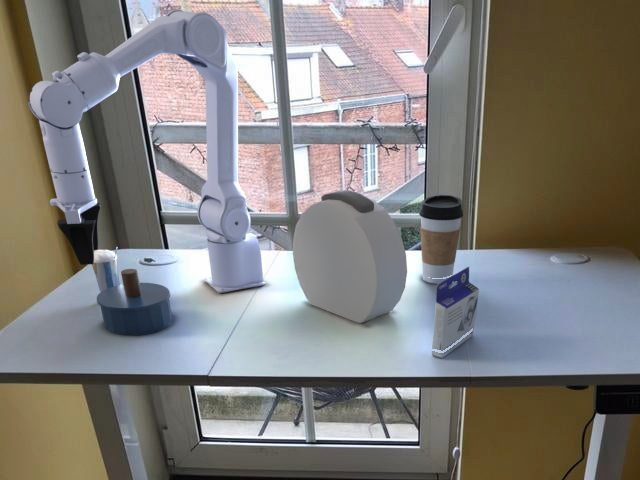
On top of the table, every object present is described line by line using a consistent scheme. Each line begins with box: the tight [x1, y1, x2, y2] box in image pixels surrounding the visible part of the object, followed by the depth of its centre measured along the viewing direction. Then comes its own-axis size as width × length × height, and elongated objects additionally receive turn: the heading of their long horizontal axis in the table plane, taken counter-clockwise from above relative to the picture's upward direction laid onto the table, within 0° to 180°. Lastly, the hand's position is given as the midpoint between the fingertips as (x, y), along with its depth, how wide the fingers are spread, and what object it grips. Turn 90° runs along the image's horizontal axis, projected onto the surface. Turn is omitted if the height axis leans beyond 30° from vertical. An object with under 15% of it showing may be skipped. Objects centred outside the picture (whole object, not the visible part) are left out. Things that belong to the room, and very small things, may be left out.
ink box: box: [430, 266, 480, 359], centre depth 118 cm, size 12×2×12 cm, turn 148°
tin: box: [99, 298, 173, 336], centre depth 126 cm, size 11×11×4 cm
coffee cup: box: [418, 194, 464, 285], centre depth 142 cm, size 8×8×15 cm
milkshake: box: [91, 246, 121, 293], centre depth 132 cm, size 4×5×10 cm
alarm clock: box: [292, 189, 408, 324], centre depth 128 cm, size 21×8×20 cm, turn 47°
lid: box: [96, 268, 171, 311], centre depth 123 cm, size 12×12×5 cm
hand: (89, 256), depth 124 cm, fingers open, 7 cm apart
